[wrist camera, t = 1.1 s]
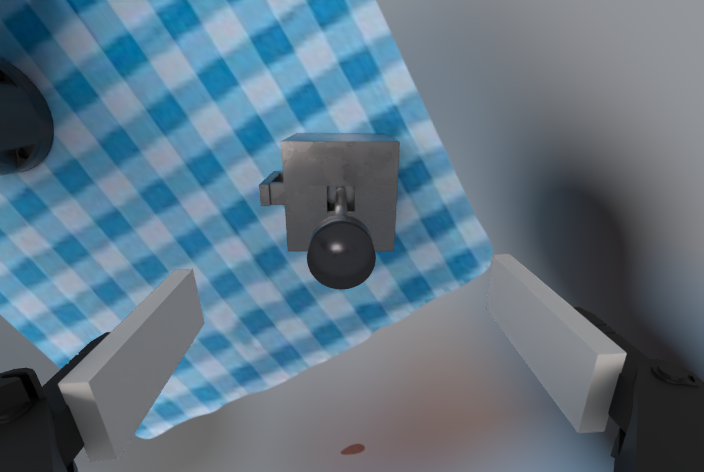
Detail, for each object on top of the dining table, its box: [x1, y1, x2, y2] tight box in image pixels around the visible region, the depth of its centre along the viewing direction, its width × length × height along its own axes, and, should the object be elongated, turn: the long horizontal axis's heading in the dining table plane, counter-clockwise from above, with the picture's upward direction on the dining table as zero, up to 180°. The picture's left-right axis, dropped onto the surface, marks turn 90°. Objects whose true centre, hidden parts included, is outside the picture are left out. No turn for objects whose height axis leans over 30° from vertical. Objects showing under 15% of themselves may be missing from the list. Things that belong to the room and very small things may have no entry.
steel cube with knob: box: [259, 133, 400, 251], centre depth 43 cm, size 15×12×14 cm
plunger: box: [307, 186, 376, 289], centre depth 31 cm, size 9×9×19 cm
